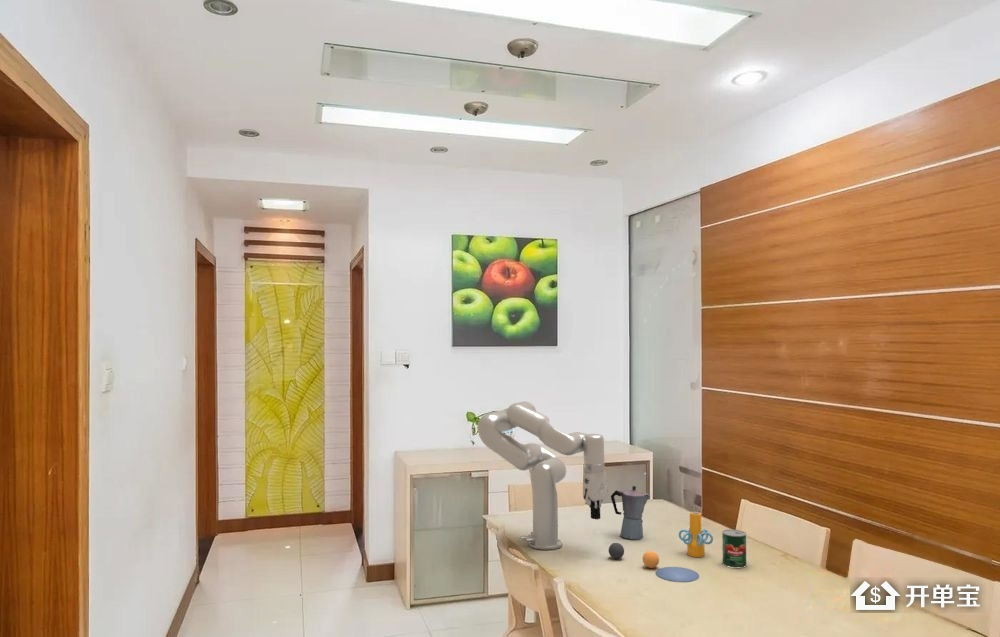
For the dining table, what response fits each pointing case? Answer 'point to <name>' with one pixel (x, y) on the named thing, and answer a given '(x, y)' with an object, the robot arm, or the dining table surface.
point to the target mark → (677, 574)
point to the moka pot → (631, 512)
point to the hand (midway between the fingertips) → (595, 518)
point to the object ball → (650, 559)
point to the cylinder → (695, 536)
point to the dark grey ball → (616, 550)
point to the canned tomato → (734, 548)
